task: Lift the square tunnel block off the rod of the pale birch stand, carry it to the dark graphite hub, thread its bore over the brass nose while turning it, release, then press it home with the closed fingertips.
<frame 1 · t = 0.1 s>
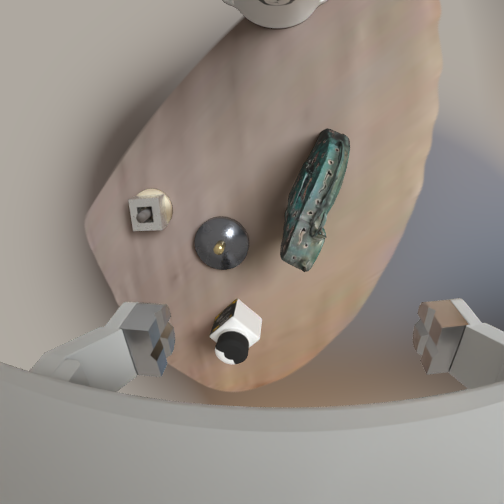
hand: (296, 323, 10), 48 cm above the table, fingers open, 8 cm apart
hub: (222, 242, 61), on the table
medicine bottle: (238, 317, 67), on the table
bull figurine: (308, 181, 55), on the table
stand: (153, 208, 60), on the table
square tunnel block: (151, 210, 59), point 1 cm above the table, touching stand
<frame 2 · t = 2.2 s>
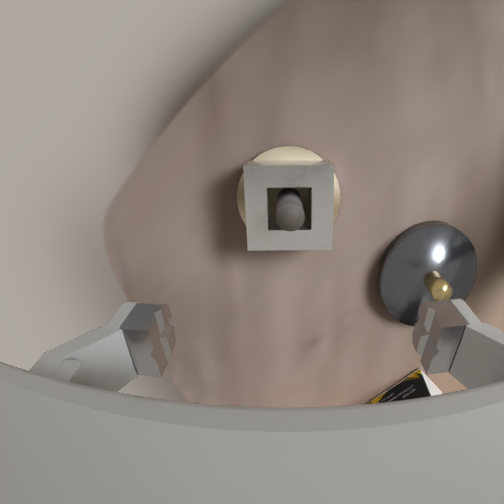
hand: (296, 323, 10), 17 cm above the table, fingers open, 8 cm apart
hub: (426, 272, 27), on the table
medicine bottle: (407, 394, 33), on the table
stand: (288, 195, 25), on the table
square tunnel block: (288, 198, 24), point 1 cm above the table, touching stand
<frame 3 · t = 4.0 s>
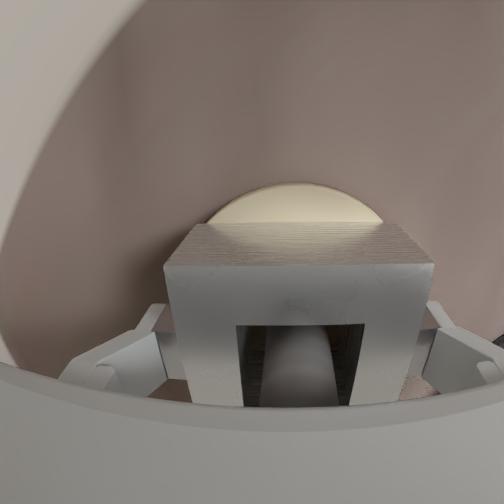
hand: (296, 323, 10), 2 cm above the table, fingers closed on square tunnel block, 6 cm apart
stand: (295, 294, 11), on the table
square tunnel block: (296, 309, 11), point 1 cm above the table, touching gripper, stand
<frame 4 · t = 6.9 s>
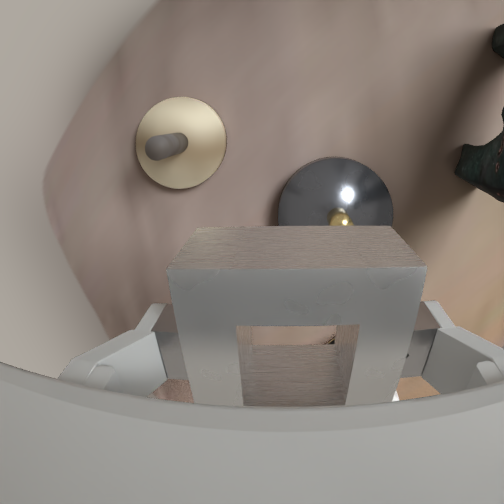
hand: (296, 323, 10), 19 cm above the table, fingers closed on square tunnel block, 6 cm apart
hub: (334, 213, 28), on the table
bull figurine: (486, 105, 22), on the table
stand: (181, 142, 27), on the table
square tunnel block: (294, 310, 11), point 18 cm above the table, touching gripper
when the fingers open (3 cm above the table, at t = 9.9 s): square tunnel block stays where it is, resting on hub.
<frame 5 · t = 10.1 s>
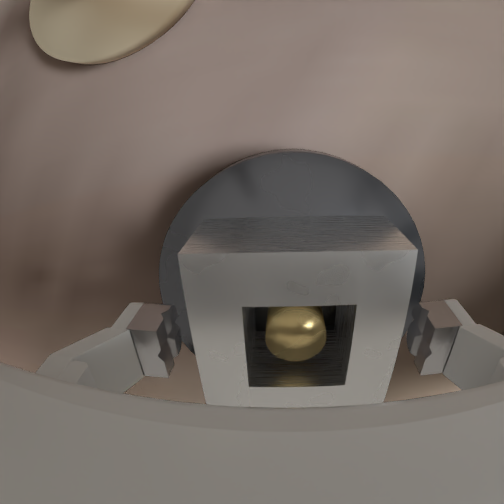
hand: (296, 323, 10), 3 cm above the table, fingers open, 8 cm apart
hub: (293, 277, 13), on the table
square tunnel block: (295, 297, 12), point 1 cm above the table, touching hub
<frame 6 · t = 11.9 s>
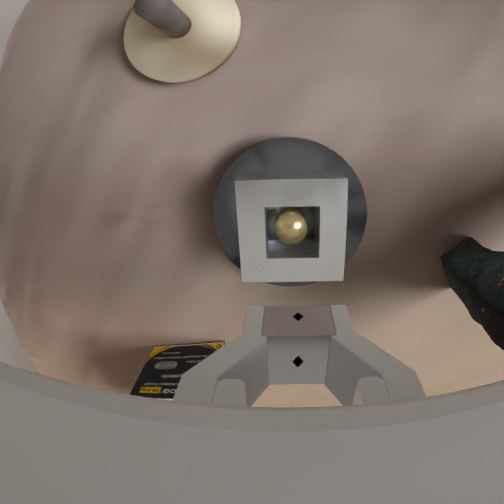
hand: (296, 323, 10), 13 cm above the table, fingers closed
hub: (289, 210, 22), on the table
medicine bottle: (200, 370, 29), on the table
stand: (182, 29, 18), on the table
square tunnel block: (291, 217, 21), point 1 cm above the table, touching hub
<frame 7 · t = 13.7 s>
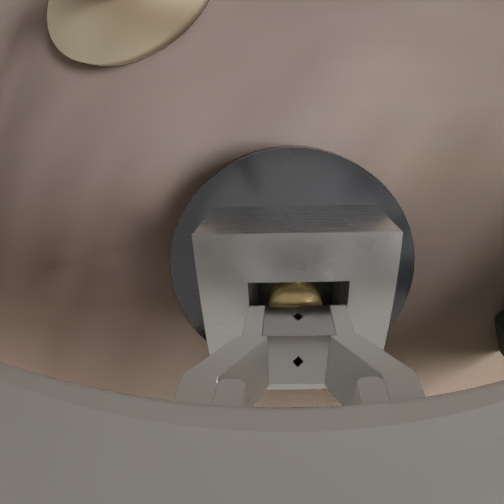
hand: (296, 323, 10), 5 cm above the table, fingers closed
hub: (293, 263, 14), on the table
square tunnel block: (295, 280, 13), point 1 cm above the table, touching gripper, hub
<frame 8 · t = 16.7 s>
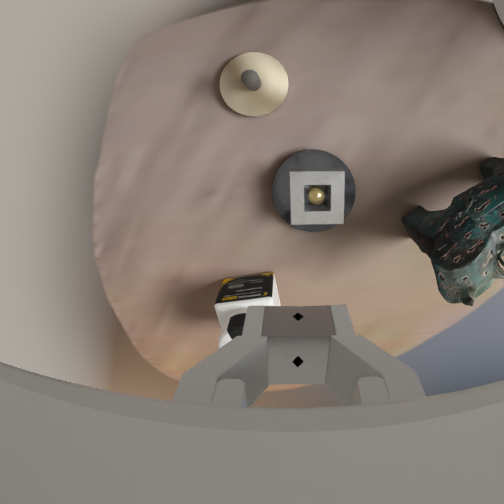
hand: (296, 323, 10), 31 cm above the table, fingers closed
hub: (313, 189, 39), on the table
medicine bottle: (253, 296, 46), on the table
bull figurine: (450, 194, 37), on the table
stand: (254, 84, 35), on the table
square tunnel block: (315, 192, 38), point 1 cm above the table, touching hub
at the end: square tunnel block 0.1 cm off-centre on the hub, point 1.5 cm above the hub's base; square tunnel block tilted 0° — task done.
